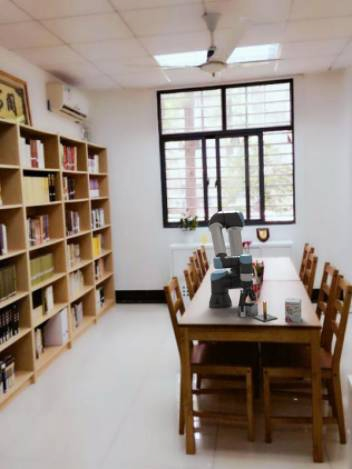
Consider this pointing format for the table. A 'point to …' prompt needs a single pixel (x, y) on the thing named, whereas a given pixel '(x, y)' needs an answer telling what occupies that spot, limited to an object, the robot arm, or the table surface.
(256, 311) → the link
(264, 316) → the post
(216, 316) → the table surface
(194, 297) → the table surface
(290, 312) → the ink box
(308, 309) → the table surface
